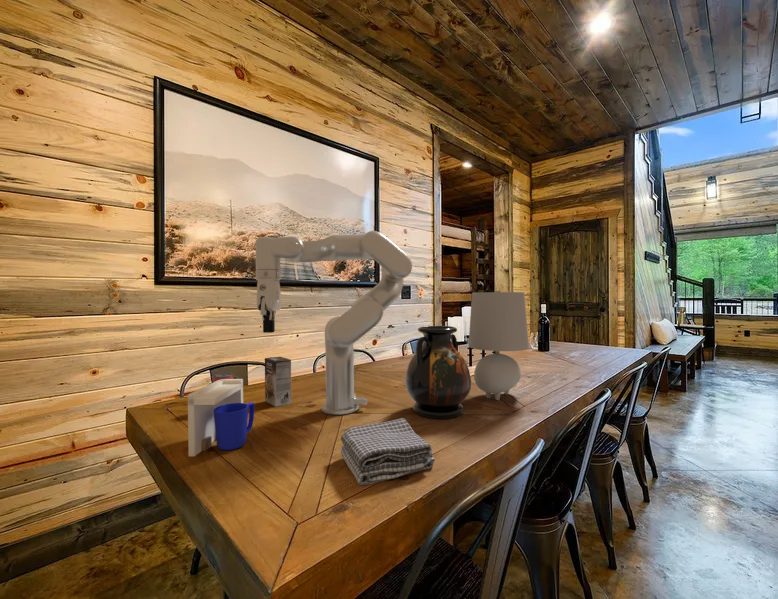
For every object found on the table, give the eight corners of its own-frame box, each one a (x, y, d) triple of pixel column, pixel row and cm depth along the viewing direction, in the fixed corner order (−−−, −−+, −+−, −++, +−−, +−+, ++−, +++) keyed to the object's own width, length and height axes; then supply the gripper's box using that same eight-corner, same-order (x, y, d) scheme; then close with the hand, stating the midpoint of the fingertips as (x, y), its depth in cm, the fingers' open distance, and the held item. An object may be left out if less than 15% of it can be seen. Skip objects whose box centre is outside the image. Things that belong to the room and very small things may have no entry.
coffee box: (264, 401, 129) (263, 358, 128) (280, 398, 133) (280, 355, 133) (275, 407, 122) (274, 361, 122) (292, 403, 126) (291, 358, 126)
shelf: (243, 430, 100) (242, 378, 100) (215, 456, 84) (214, 394, 84) (221, 430, 100) (220, 379, 100) (188, 456, 84) (187, 394, 84)
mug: (265, 436, 96) (264, 400, 96) (232, 455, 85) (231, 414, 85) (241, 432, 99) (241, 397, 99) (206, 450, 88) (205, 410, 88)
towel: (338, 459, 83) (337, 426, 83) (406, 445, 90) (406, 415, 90) (359, 491, 69) (358, 452, 69) (438, 471, 77) (438, 436, 77)
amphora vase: (442, 428, 100) (441, 331, 100) (392, 411, 117) (391, 327, 116) (484, 412, 115) (484, 327, 114) (435, 398, 131) (434, 323, 131)
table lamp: (490, 386, 147) (489, 291, 147) (541, 396, 131) (540, 290, 131) (457, 397, 132) (456, 291, 131) (510, 410, 116) (509, 290, 115)
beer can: (238, 407, 123) (237, 372, 122) (227, 413, 116) (227, 377, 116) (220, 406, 123) (220, 372, 123) (209, 412, 117) (208, 377, 117)
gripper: (271, 274, 105) (272, 334, 106) (286, 277, 120) (287, 330, 121) (247, 274, 106) (247, 335, 106) (265, 277, 121) (265, 330, 121)
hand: (268, 332), depth 113 cm, fingers closed
